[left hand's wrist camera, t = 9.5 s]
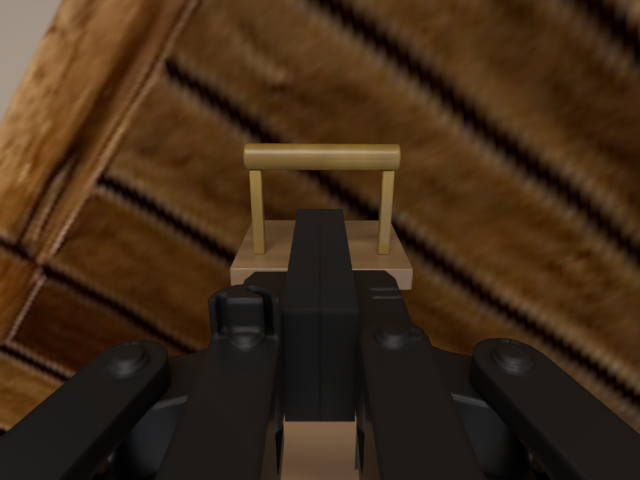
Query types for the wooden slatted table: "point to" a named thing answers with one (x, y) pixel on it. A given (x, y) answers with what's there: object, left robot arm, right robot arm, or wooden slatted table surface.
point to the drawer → (363, 236)
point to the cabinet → (319, 451)
